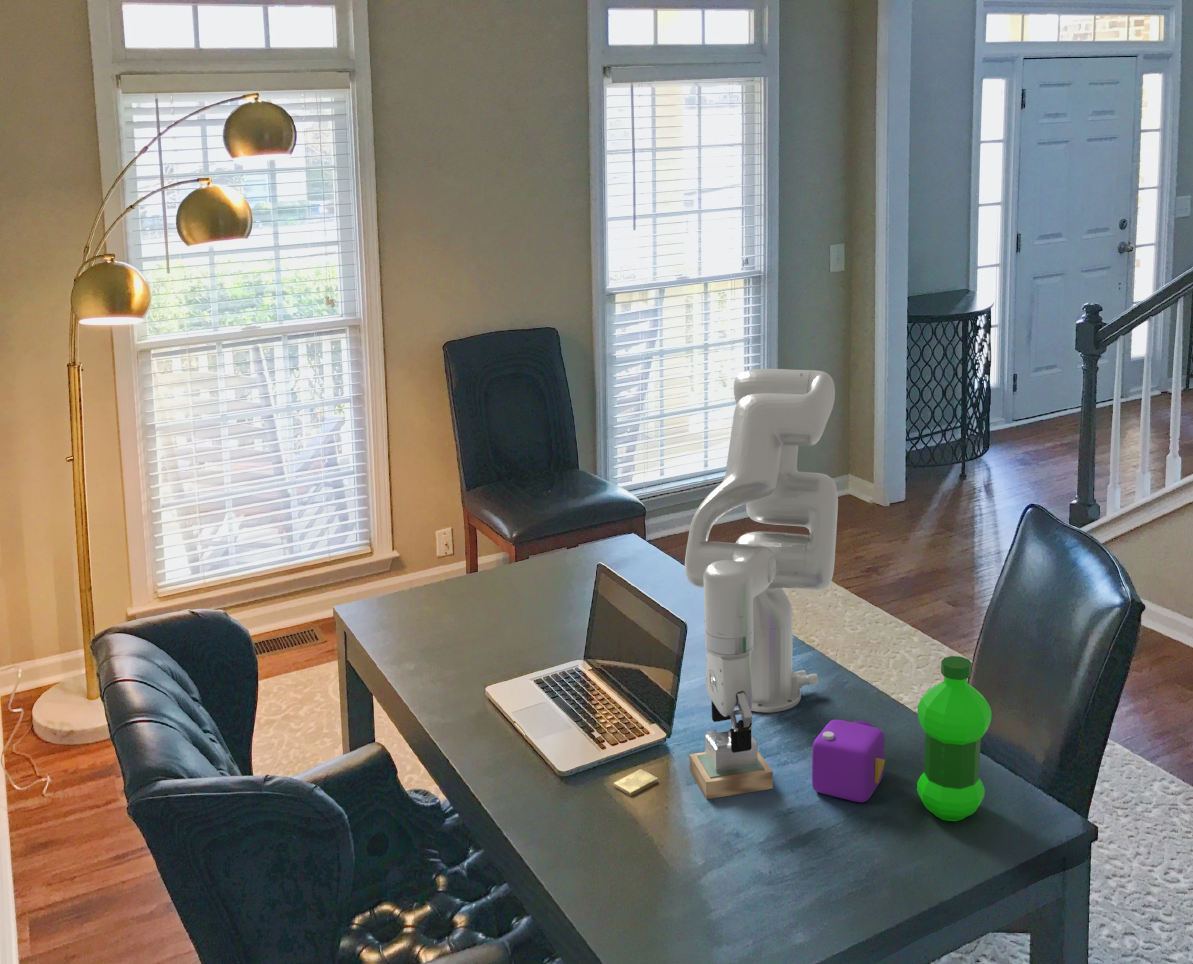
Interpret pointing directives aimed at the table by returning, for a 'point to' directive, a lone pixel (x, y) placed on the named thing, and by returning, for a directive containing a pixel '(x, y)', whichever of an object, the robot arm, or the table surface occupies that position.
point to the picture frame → (730, 777)
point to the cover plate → (635, 782)
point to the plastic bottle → (953, 742)
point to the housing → (728, 752)
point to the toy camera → (848, 760)
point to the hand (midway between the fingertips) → (731, 734)
